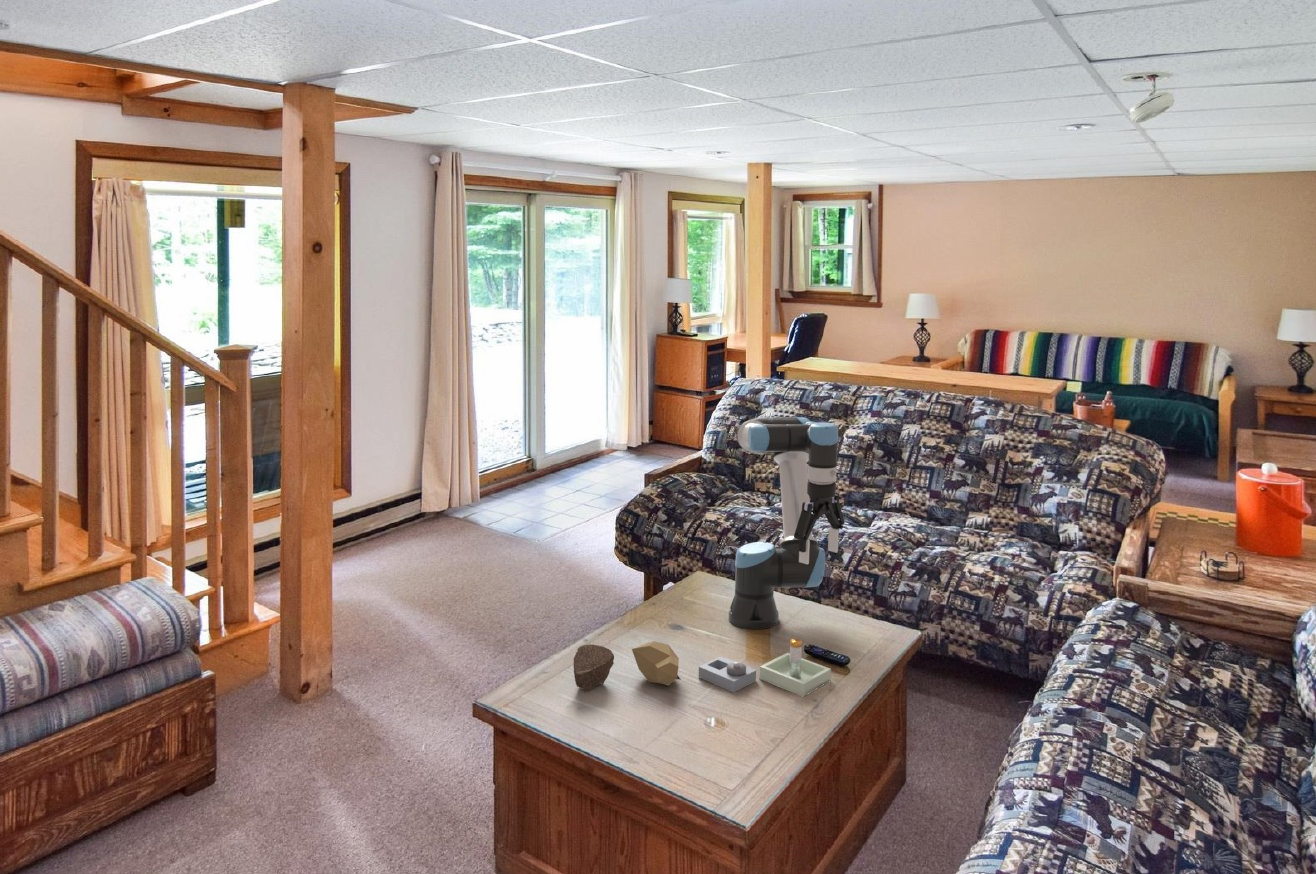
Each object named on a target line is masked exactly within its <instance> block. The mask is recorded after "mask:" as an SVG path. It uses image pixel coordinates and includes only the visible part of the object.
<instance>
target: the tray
mask: <svg viewBox="0 0 1316 874" xmlns="http://www.w3.org/2000/svg"><path fill="white" fill-rule="evenodd" d="M789 666H790V652H785V653H784V654H782V655H780V656H778V657H776V658H774V659H772V660H770V661H768V662H766V663H764V664H761V666H759V680H761V681H764V682H766V683H769V684H771V685H773V686H776V687H778V688H780V689H783V690H785V691H788V692H791V693H793V694H795V693H796V695H798V696H800V697H802V696H804V697H805V695H806V696H807V695H809V694H811V693H812V691H813V692H815V691H816V690H817V689H816V688H818V689H820V688H822V687H823V686H824V685H823V684H825V683H827V682H828V683H830V682H831V678H832V675H831V674H832V669H831V668H829V667H827V666H824V665H821V664H820V663H816V662H813V661H812V660H808V659H806V658H804V657H803V658H802V657H801V679H799V680H798V679H795V678H793V677H790V676H789ZM829 681H830V682H829ZM828 683H827V684H828ZM822 685H823V686H822ZM825 685H826V684H825ZM819 687H820V688H819ZM815 689H816V690H815ZM810 692H811V693H810ZM808 693H809V694H808Z"/></svg>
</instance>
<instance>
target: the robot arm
mask: <svg viewBox="0 0 1316 874" xmlns="http://www.w3.org/2000/svg"><path fill="white" fill-rule="evenodd" d="M736 439H737V443H738V445H739V446H740V447H741V448H742V449H743V450H745V451H748V452H751V453H756V454H762V455H766V454H767V455H773V461H774V462H775V463H776V464H777V465H778V466H779V468H778V469H779V480H780V496H781V497H780V498H781V514H782V527H783V539H782V540H781V541H780V542H779V548H776V546H775V545H774V543H770V542H768V541H767V542H765V541H757V542H755V541H754V542H749V543H747V544H744V545H742V546H740V547H739V548H738V549H737V550H736V554H735V555H736V556H735V561H734V566H735V574H734V575H735V578H734V596H733V599H732V601H731V604H730V607H729V610H728V621H729V622H730V623H731V624H732V625H734V626H737V627H739V628H744V629H749V630H751V629H752V630H762V629H768V628H769V629H770V628H772V627H774V626H776V625H777V624H778V623H779V617H780V616H779V611H778V607H777V604H776V601H775V597H774V596H775V595H774V593H775V592H774V589H775V588H780V589H781V588H804V589H806V588H815V587H816V588H817V587H818V586H820V584H821V583H822V582H823V578H824V574H825V568H826V551H825V549H824V548H822V547H819V541H818V540H817V539H816V538H814V536H813V529H814V527H815V524H816V523H817V520H820V518H821V517H823V516H825V519H827V521H828V523H829V525H830V527H828V543H827V544H828V546H827V551H830V552H832V553H836V554H837V553H838V552H839V537H840V530H842V529H843V528H844V525H845V518H844V515H843V512H842V508H841V507H842V506H841V504H840V495H839V494H836V493H837V489H836V488H837V484H836V482H835V481H837V466H838V464H837V463H838V447H839V445H838V444H839V439H840V437H839V427H838V426H837V424H835V423H831V422H820V421H819V422H816V421H811V420H810V419H809V418H807V417H801V416H783V417H782V416H771V417H769V416H767V417H766V416H763V417H762V416H761V417H756V418H752V419H748V420H746V421H744V422H743V423H741V424H740V425H739V427H738V428H737V431H736Z"/></svg>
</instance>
